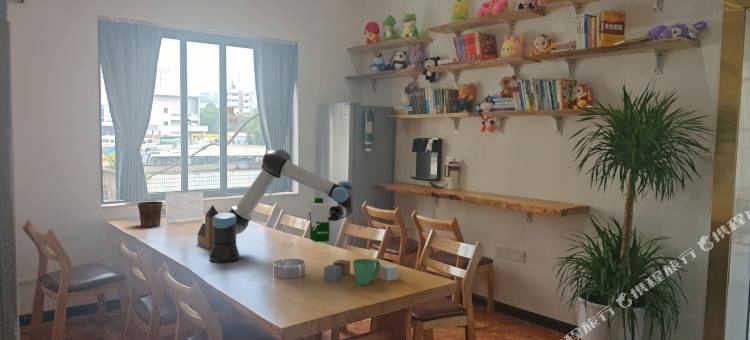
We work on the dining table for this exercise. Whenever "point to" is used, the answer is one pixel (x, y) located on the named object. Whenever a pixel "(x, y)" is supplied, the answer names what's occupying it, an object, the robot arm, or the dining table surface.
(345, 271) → the walnut block
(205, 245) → the toy building blocks
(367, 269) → the mug
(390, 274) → the white cube
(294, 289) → the dining table surface
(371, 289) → the dining table surface
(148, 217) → the plant pot
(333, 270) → the slate grey block
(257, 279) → the dining table surface
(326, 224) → the soya milk
